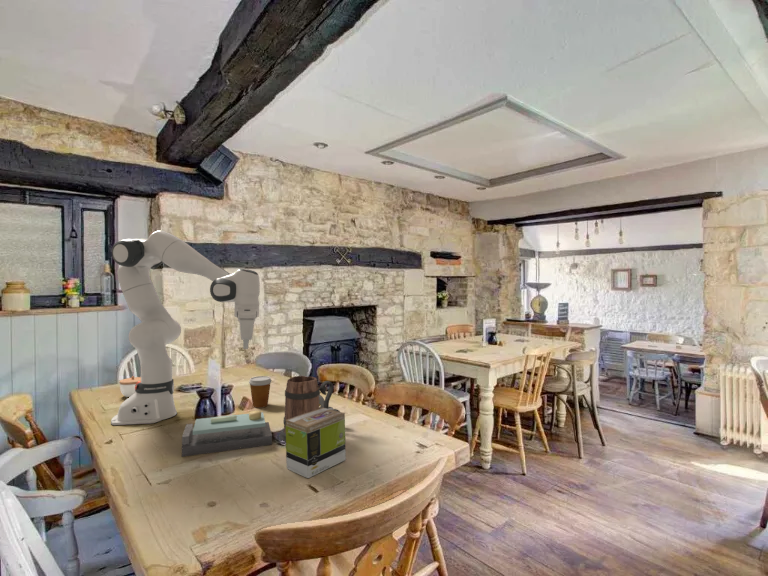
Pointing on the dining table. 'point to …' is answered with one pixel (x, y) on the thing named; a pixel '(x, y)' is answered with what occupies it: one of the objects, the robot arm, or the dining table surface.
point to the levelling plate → (229, 423)
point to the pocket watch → (322, 402)
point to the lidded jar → (128, 386)
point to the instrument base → (224, 440)
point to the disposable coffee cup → (260, 390)
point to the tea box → (315, 441)
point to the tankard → (303, 398)
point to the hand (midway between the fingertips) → (245, 348)
